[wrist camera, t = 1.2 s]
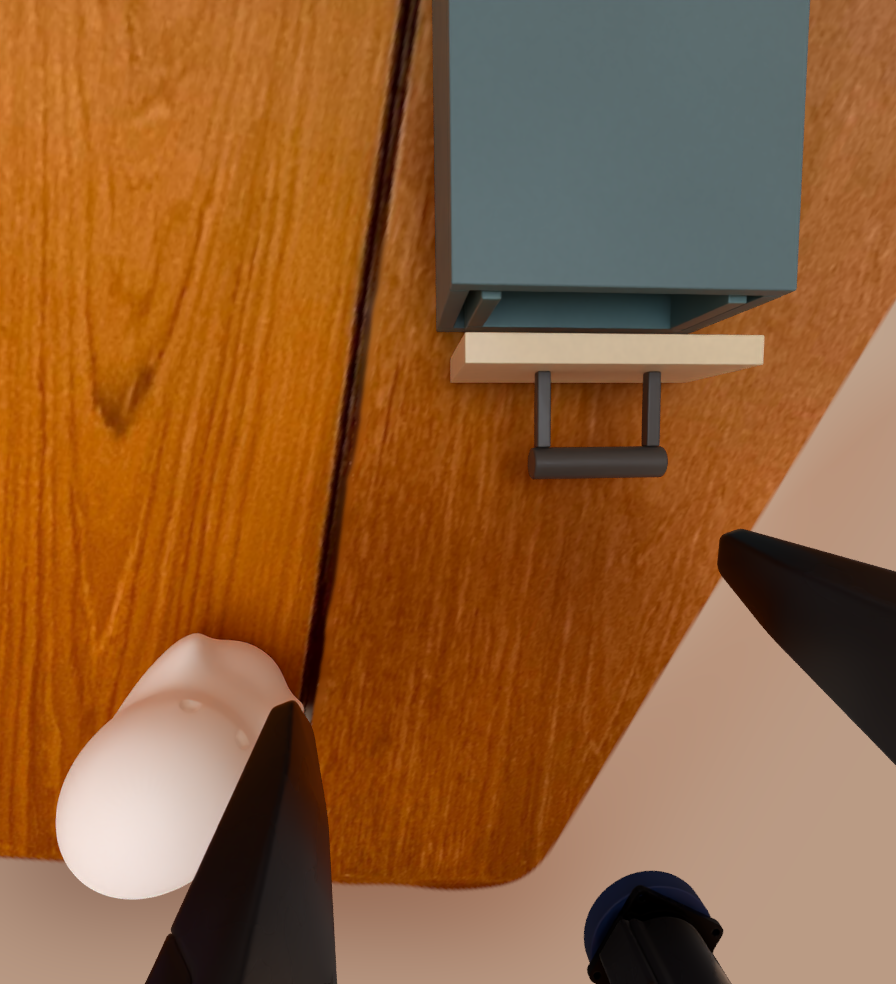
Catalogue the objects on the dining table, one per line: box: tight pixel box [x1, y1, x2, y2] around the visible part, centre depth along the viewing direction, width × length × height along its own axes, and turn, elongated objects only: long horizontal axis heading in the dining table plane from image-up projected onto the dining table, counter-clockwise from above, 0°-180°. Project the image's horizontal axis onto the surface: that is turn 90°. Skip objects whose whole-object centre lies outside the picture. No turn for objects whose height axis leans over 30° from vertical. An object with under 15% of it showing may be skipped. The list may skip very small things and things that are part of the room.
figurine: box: [56, 633, 304, 899], centre depth 21 cm, size 7×8×12 cm
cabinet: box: [432, 0, 810, 334], centre depth 22 cm, size 17×14×8 cm
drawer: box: [450, 290, 764, 479], centre depth 23 cm, size 20×12×6 cm, turn 1°
